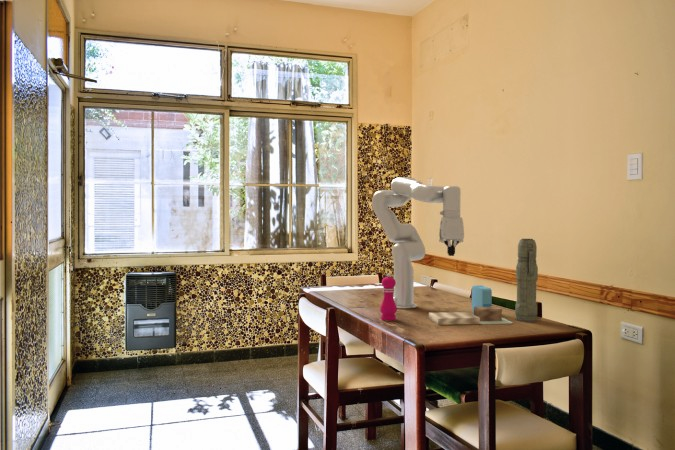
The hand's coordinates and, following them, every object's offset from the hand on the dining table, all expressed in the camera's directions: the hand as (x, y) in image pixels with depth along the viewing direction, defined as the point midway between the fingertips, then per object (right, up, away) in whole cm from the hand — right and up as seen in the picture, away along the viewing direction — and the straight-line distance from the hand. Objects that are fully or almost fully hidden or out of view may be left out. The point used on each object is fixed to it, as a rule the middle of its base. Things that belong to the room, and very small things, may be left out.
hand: (451, 255), depth 242 cm
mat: (+15, -27, -7) cm, 32 cm away
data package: (+16, -27, +10) cm, 33 cm away
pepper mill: (-28, -27, -7) cm, 40 cm away
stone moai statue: (+31, -28, -7) cm, 42 cm away
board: (-1, -27, -9) cm, 29 cm away
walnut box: (+14, -27, -8) cm, 31 cm away
